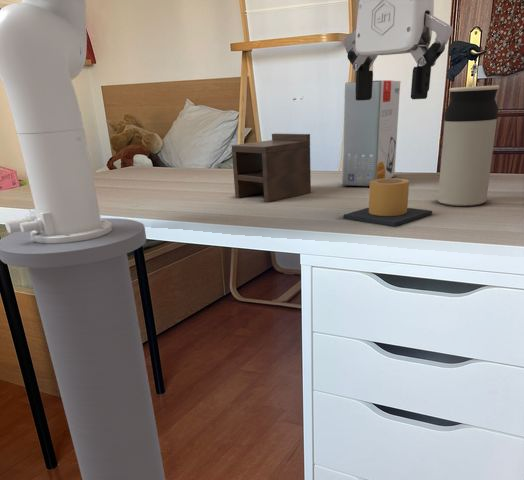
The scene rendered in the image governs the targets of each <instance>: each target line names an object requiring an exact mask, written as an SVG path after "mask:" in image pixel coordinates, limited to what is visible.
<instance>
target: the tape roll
mask: <svg viewBox="0 0 524 480" xmlns="http://www.w3.org/2000/svg"><path fill="white" fill-rule="evenodd" d="M409 189H410V180H409V179H406V178H397V177H395V178H394V177H392V178H386V179H376V180H372V181H370V186H369V193H368V194H369V195H368V208H369V213H370V214H372V215H376V216H398V215H403V214H406V213H407V208H408V206H409V205H408V204H409V203H408V202H409Z"/></svg>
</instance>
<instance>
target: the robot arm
mask: <svg viewBox="0 0 524 480" xmlns="http://www.w3.org/2000/svg"><path fill="white" fill-rule="evenodd" d="M434 9H435V0H359V2H358V9H357V18H356V28H355V29H354V30H353V31H352V32H350V34H348V35H347V36H346V37H345V38H344V39H343V46H344V49H345V52H346V54H347V55H346V56H347V60H348V61H349V62H350V64H351V66H352V70H353V71H354V72H355V82H356V90H355V91H356V100H357V101H358V100H370V99H371V98H372V83H373V81H374V72H373V70H371V67H372V66H373V64H374V62H375V61H376V60H377V58H378V56H390V55H391V56H392V55H403V54H404V55H405V54H410V55H411V56H412V58H413V59H414V61H415V63H416V66H413V69H412V75H411V88H410V99H411V100H426V99H427V98H428V92H429V90H430V84H431V75H432V73H431V72H432V67H434V66H435V65H436V63H437V60H438V59H439V58H440V56H441V55H442V54H443V53H444V51H445V49H446V45H447V44H448V42H449V40H450V38H451V36H452V35H453V32H454V28H453V26H452V25H450V24H449V23H447V22H445V21H443V20H441V19H439V18H438V17H437V16H435V15H434V11H435V10H434ZM433 32H434V33H435V38H434V42H433V43H432V44H431V41H432V37H433ZM87 38H88V37H87V0H21V2H15V3H14V2H13V3H10V4H7V5H5V6H3V7H2V8H1V9H0V80H1V83H2V86H3V89H4V91H5V94H6V98H7V100H8V105H9V108H10V112H11V116H12V120H13V123H14V128H15V132H16V134H17V138H18V143H19V146H20V151H21V155H22V160H23V163H24V167H25V172H26V176H27V180H28V183H29V188H30V193H31V196H32V197H31V198H32V202H33V205H34V208H30V209H28V211H29V214H25V216H24V217H23V218H13V219H8V220H5V222H4V224H5V225H4V226H5V228H6V231H7V233H8V234H13V233H15V232H19V231H22V232H27V231H31V233H30V234H31V238H32V240H33V241H35V242H38V243H45V244H60V243H72V242H79V241H85V240H90V239H94V238H98V237H101V236H104V235H106V234H108V233H110V232H111V231H112V223H111V222H109V221H107V220H101V218H102V217H101V212H100V207H99V201H98V196H97V191H96V186H95V185H96V184H95V181H94V174H93V169H92V163H91V158H90V154H89V147H88V141H87V138H86V133H85V132H86V131H85V128H84V122H83V117H82V112H81V108H80V103H79V101H78V96H77V93H76V90H75V87H74V83H73V80H75V79H76V78H77V77H78V76H79V75H80V74H81V72H82V71H83V69H84V67H85V64H86V60H87V59H86V58H87V50H88V49H87V47H88V46H87V45H88V44H87V43H88V42H87V41H88V39H87Z"/></svg>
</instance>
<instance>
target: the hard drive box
mask: <svg viewBox="0 0 524 480" xmlns="http://www.w3.org/2000/svg"><path fill="white" fill-rule="evenodd" d="M355 90H356V81H348V82H347V81H346V82H345V83H344V99H343V100H344V102H343V130H342V131H343V132H342V165H341V166H342V167H341V186H358V187H370V181H372V180H376V179H386V178H394V177H395V173H396V155H397V142H398V141H397V139H398V123H399V110H400V107H399V106H400V93H401V81H400V80H391V79H390V80H383V79H381V80H373V83H372V98H371V99H370V100H358V101H357V100H356V91H355Z"/></svg>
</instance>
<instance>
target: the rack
mask: <svg viewBox="0 0 524 480" xmlns="http://www.w3.org/2000/svg"><path fill="white" fill-rule="evenodd" d="M231 158H232V169H233V170H232V171H233V172H232V173H233V185H234V197H235V198H238V199H240V198H244V197H249V196H254V195H259V194H263V202H265V203H271V202H274V201H280V200H283V199H289V198H294V197H297V196H301V195H306V194H310V193H311V192H312V185H311V183H312V181H311V177H312V175H311V133H280V132H279V133H278V132H277V133H276V132H275V133H271V139H269V140H262V141H255V142H246V143H240V144H232V145H231Z"/></svg>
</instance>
